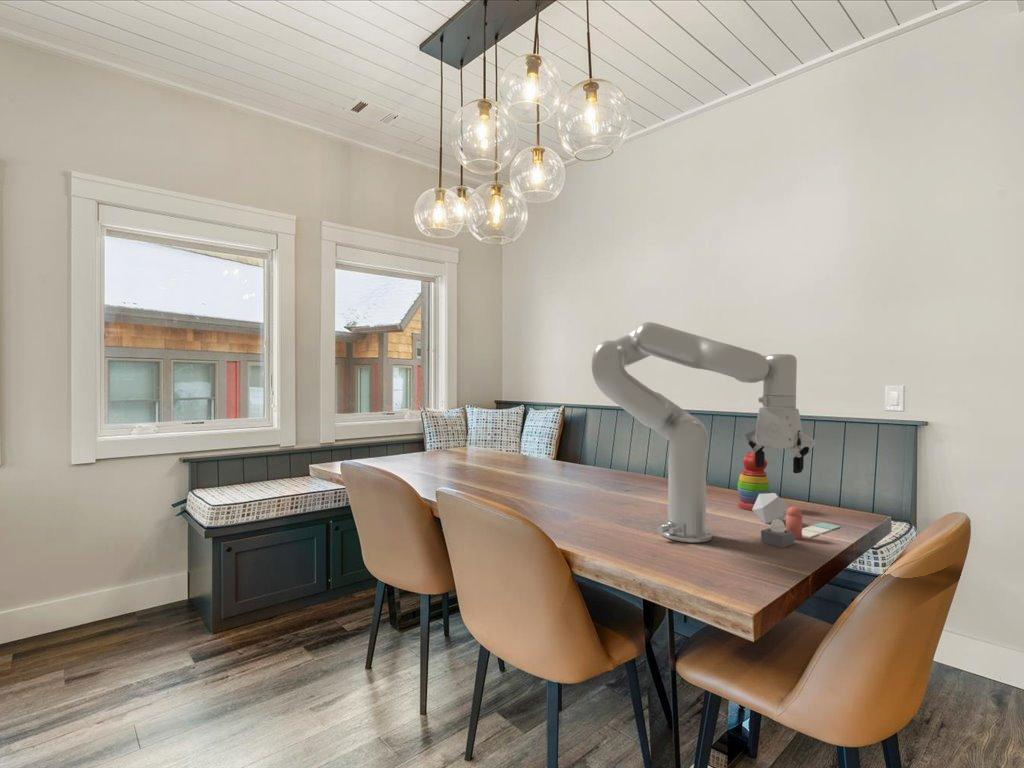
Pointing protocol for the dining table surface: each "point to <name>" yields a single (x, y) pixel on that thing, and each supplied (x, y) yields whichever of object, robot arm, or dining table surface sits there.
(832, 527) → the tile
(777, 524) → the dome
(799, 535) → the pawn
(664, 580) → the dining table surface
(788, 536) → the grey square tray
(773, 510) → the die
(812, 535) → the track
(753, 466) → the stacking bear
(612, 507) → the dining table surface
